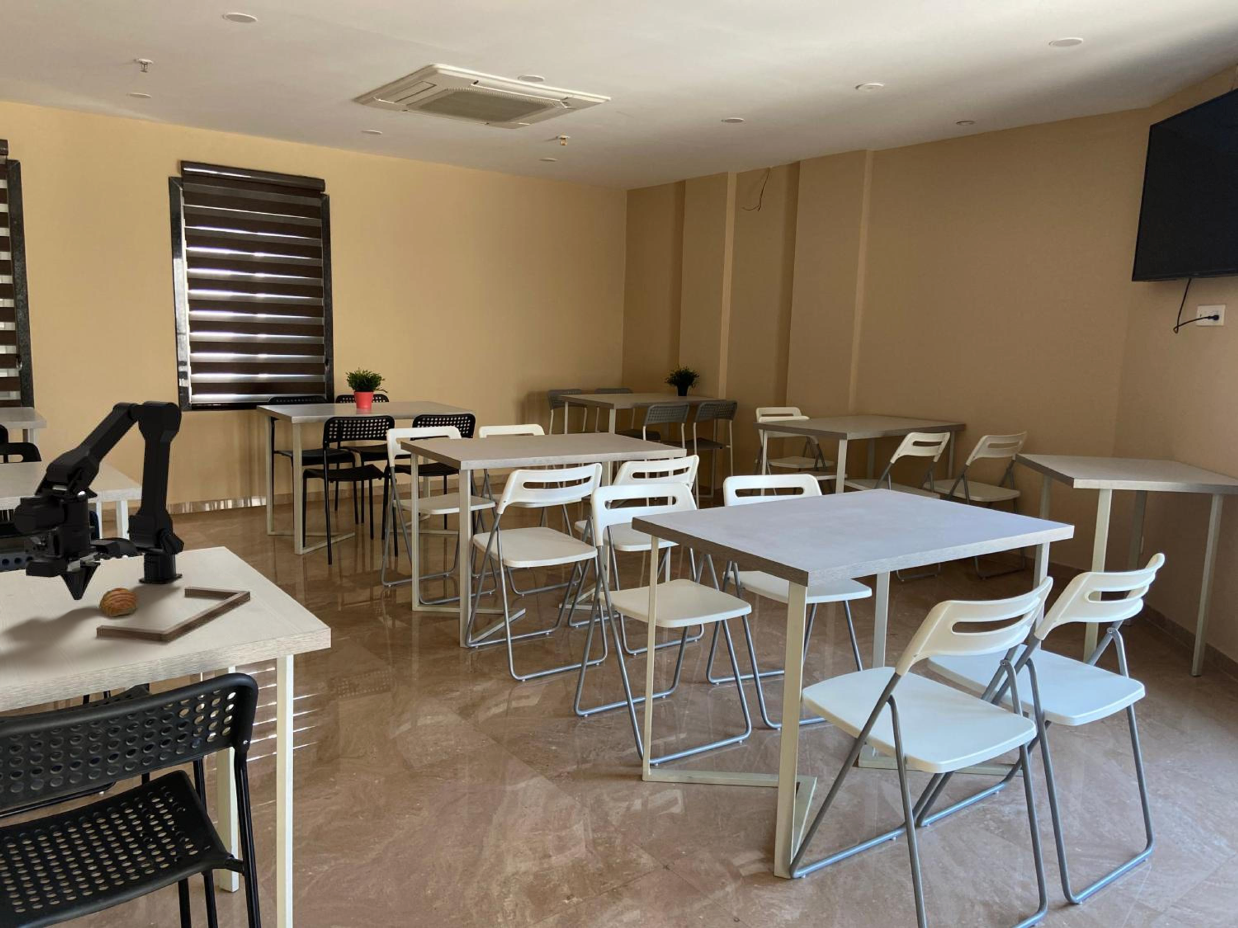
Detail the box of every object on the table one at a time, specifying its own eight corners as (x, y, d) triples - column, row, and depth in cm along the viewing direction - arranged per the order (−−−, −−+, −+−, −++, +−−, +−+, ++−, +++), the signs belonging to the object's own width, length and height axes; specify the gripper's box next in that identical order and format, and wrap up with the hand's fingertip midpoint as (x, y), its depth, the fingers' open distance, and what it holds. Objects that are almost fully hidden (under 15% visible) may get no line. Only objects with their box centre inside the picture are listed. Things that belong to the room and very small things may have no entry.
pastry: (142, 615, 176) (140, 596, 176) (102, 621, 172) (101, 601, 172) (136, 602, 184) (135, 584, 183) (98, 607, 180) (97, 589, 179)
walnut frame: (189, 593, 190) (188, 586, 190) (250, 598, 188) (250, 591, 188) (96, 635, 164) (96, 627, 163) (166, 641, 162) (166, 633, 161)
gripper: (72, 511, 187) (76, 583, 189) (-3, 531, 169) (3, 610, 171) (120, 514, 185) (124, 587, 187) (49, 534, 167) (55, 615, 169)
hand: (77, 599), depth 179 cm, fingers closed
